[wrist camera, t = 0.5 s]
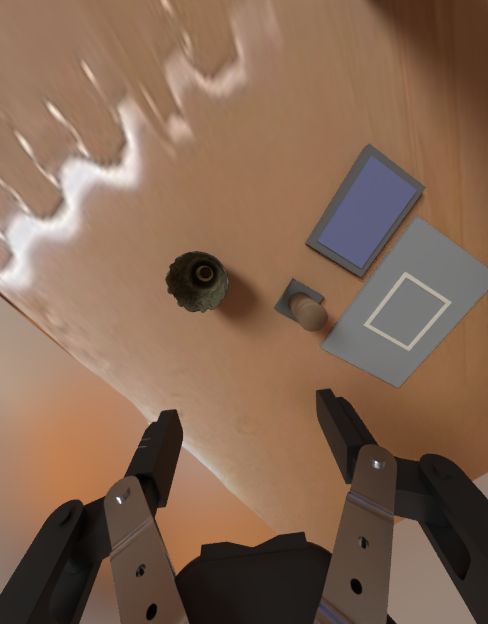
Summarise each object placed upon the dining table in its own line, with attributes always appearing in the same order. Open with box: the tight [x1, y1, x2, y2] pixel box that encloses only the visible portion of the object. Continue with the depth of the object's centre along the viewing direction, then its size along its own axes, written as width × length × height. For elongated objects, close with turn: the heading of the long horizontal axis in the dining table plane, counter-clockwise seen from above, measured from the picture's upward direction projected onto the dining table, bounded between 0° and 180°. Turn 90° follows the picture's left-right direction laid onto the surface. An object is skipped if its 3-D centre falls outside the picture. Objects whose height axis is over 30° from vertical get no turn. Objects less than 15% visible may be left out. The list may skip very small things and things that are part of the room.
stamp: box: [274, 279, 328, 331], centre depth 33 cm, size 6×6×8 cm
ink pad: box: [305, 144, 426, 277], centre depth 32 cm, size 14×10×2 cm
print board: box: [320, 216, 488, 388], centre depth 37 cm, size 24×18×1 cm
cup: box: [166, 251, 229, 313], centre depth 31 cm, size 8×7×8 cm
